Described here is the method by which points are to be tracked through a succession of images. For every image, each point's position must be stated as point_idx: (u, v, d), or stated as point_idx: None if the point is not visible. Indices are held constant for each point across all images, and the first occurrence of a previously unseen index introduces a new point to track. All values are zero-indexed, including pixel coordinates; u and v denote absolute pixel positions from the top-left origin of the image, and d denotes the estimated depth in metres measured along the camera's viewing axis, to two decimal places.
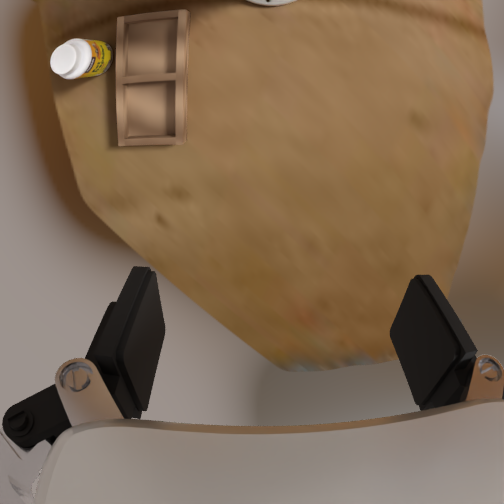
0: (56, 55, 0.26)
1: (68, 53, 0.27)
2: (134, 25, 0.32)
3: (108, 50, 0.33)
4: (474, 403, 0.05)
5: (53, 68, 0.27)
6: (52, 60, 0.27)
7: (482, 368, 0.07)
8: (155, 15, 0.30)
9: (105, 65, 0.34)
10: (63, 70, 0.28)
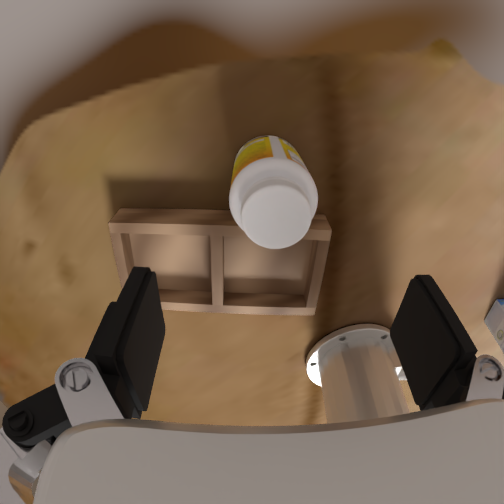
0: (291, 203, 0.17)
1: (285, 233, 0.18)
2: None
3: None
4: (474, 403, 0.05)
5: (261, 194, 0.17)
6: (282, 192, 0.17)
7: (482, 368, 0.07)
8: (315, 282, 0.29)
9: None
10: (249, 221, 0.17)
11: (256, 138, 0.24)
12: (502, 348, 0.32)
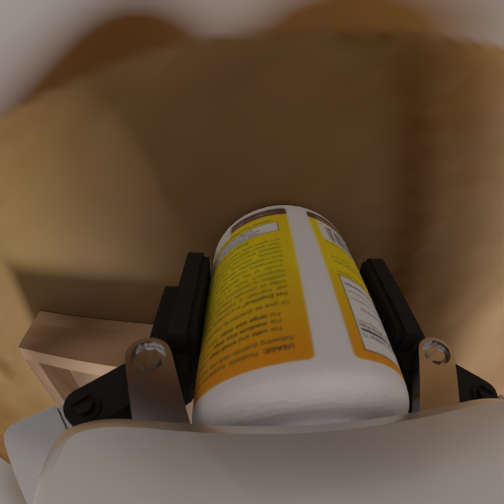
0: None
1: None
2: None
3: None
4: (474, 403, 0.05)
5: None
6: None
7: (428, 353, 0.08)
8: None
9: None
10: None
11: (259, 215, 0.11)
12: None
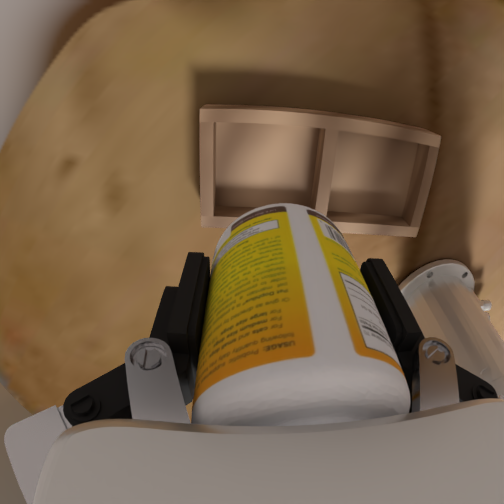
0: None
1: None
2: (414, 148, 0.24)
3: None
4: (474, 403, 0.05)
5: None
6: None
7: (428, 353, 0.08)
8: (423, 195, 0.24)
9: None
10: None
11: (259, 213, 0.11)
12: None
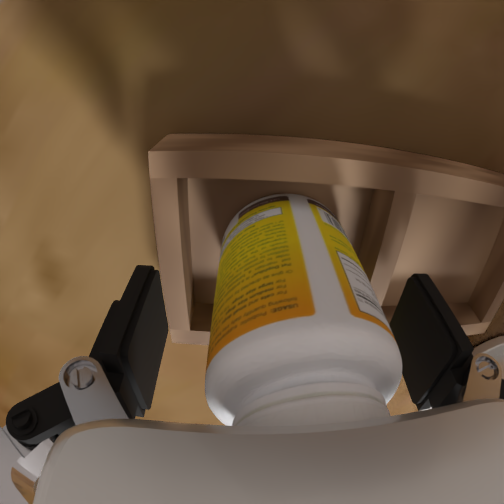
0: None
1: None
2: (502, 210, 0.13)
3: None
4: (474, 403, 0.05)
5: None
6: None
7: (479, 367, 0.07)
8: None
9: None
10: None
11: (264, 202, 0.12)
12: None
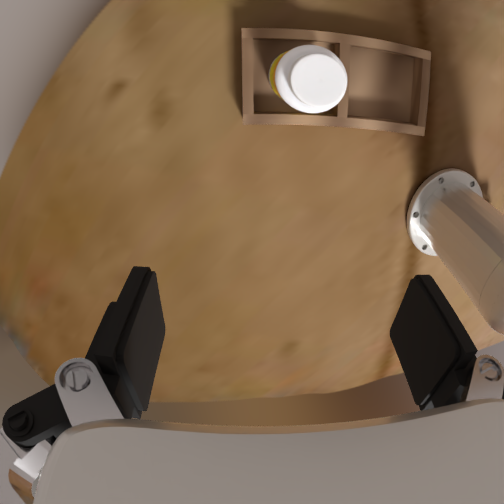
0: (329, 68, 0.18)
1: (326, 92, 0.19)
2: (411, 64, 0.26)
3: None
4: (474, 403, 0.05)
5: (306, 59, 0.18)
6: (322, 59, 0.18)
7: (482, 368, 0.07)
8: (424, 99, 0.26)
9: None
10: (297, 81, 0.19)
11: None
12: None
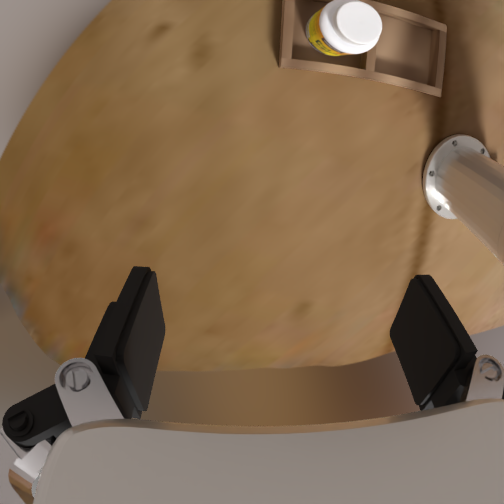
0: (368, 13, 0.18)
1: (366, 32, 0.19)
2: (429, 36, 0.26)
3: None
4: (474, 403, 0.05)
5: (349, 4, 0.18)
6: (362, 5, 0.18)
7: (482, 368, 0.07)
8: (440, 64, 0.26)
9: (320, 49, 0.27)
10: (342, 20, 0.19)
11: None
12: None
